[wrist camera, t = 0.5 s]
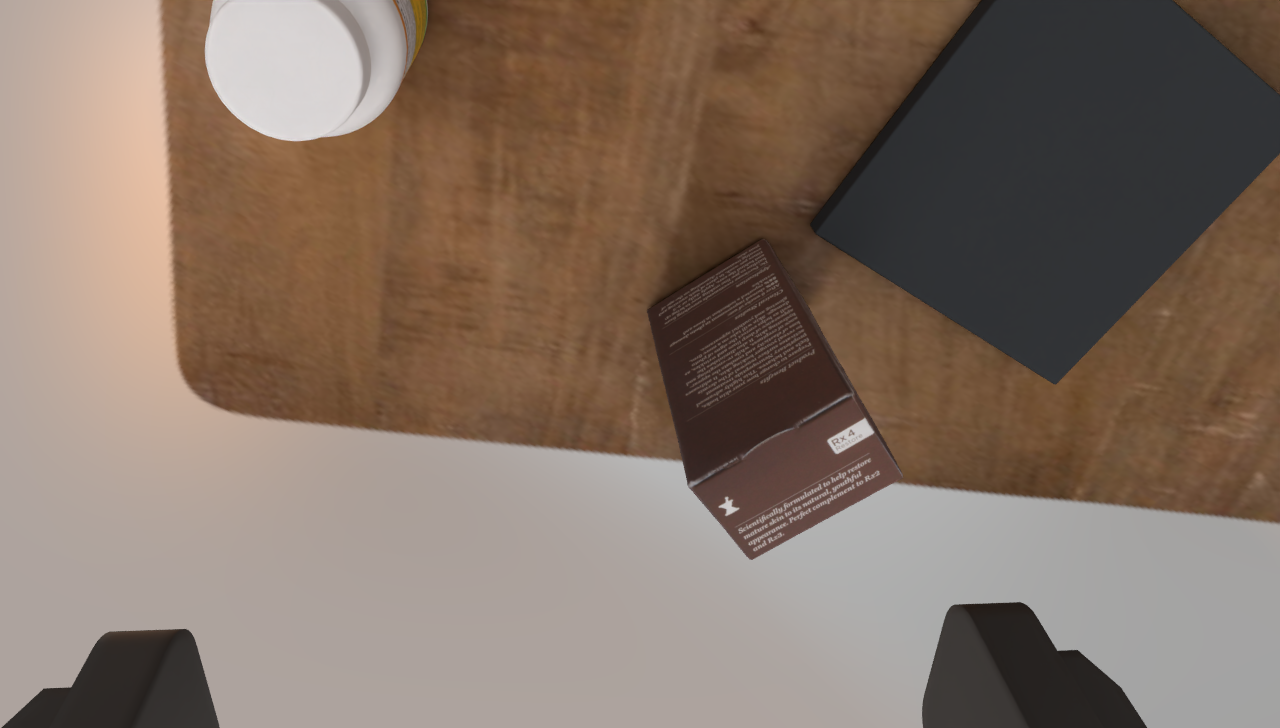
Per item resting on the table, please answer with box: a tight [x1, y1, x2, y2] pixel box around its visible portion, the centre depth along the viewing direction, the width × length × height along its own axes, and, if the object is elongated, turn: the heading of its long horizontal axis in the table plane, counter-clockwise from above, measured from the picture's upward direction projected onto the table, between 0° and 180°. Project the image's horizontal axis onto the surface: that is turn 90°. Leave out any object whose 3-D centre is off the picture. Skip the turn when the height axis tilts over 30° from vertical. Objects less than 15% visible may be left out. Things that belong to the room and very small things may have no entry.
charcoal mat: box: [810, 0, 1280, 384], centre depth 38 cm, size 14×14×1 cm
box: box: [647, 239, 903, 560], centre depth 35 cm, size 6×4×12 cm
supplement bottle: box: [205, 0, 428, 141], centre depth 29 cm, size 5×5×10 cm
